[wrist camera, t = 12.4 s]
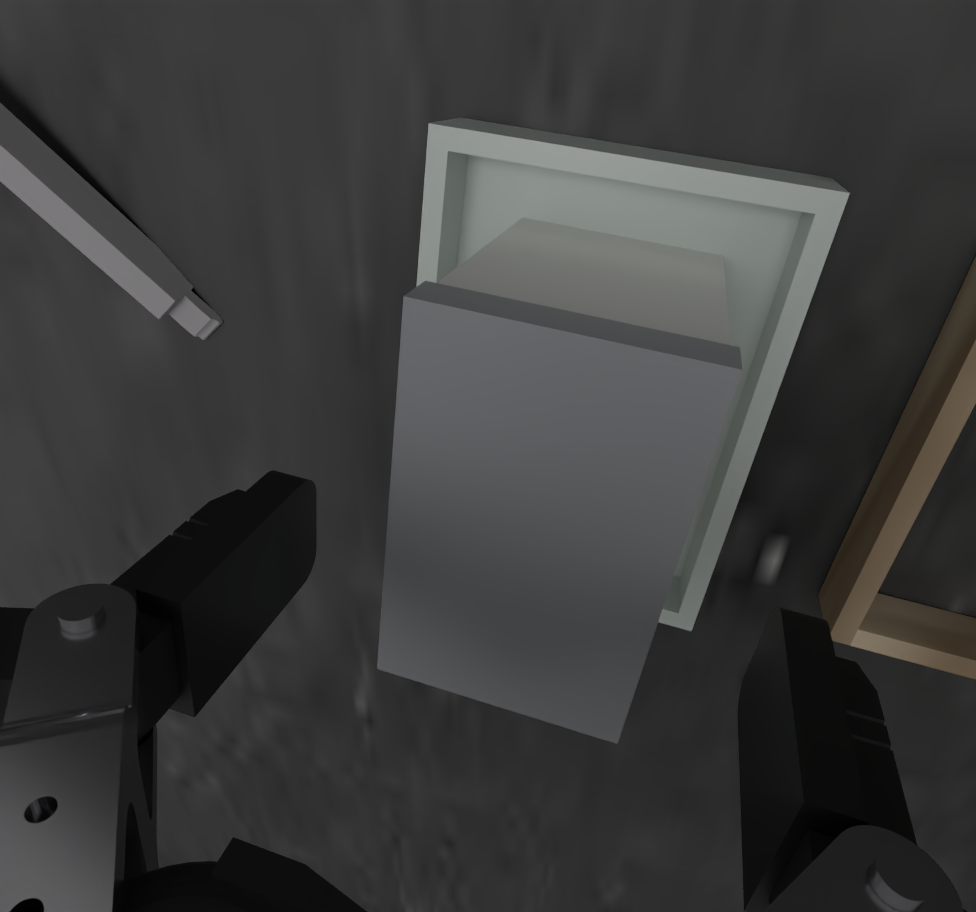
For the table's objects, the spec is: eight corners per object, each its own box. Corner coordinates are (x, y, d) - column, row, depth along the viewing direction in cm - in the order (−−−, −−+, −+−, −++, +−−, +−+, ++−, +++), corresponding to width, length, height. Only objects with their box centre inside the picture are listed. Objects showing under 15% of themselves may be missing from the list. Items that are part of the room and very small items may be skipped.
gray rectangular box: (728, 252, 17) (742, 370, 10) (646, 528, 21) (617, 743, 14) (519, 212, 18) (403, 296, 11) (479, 485, 22) (376, 668, 15)
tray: (831, 177, 16) (849, 193, 14) (693, 578, 22) (691, 631, 20) (461, 117, 18) (428, 123, 16) (424, 507, 24) (396, 549, 22)
